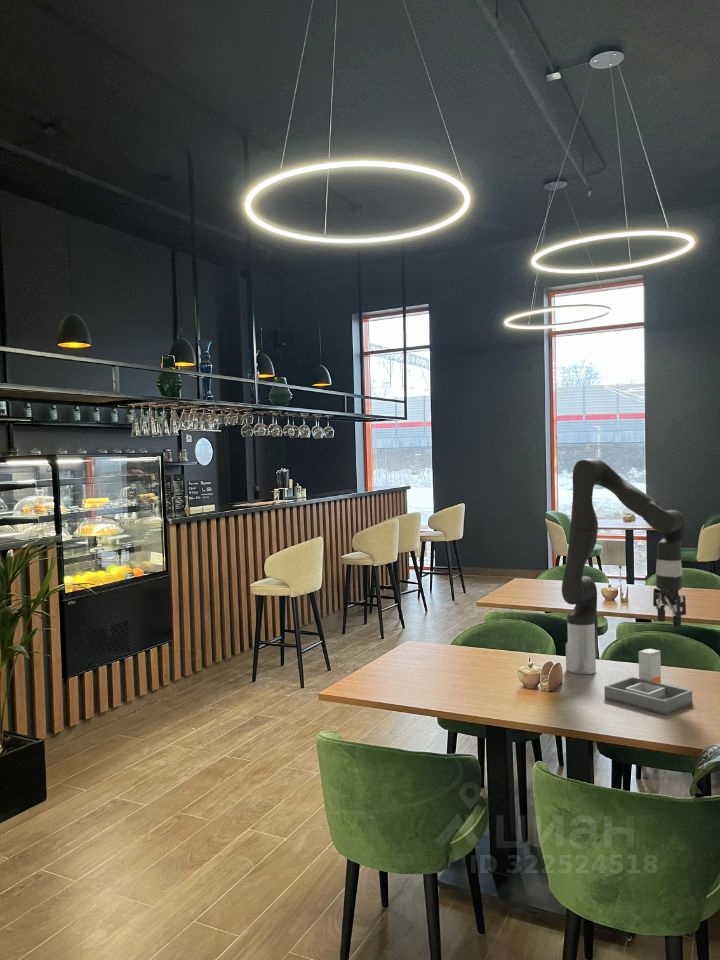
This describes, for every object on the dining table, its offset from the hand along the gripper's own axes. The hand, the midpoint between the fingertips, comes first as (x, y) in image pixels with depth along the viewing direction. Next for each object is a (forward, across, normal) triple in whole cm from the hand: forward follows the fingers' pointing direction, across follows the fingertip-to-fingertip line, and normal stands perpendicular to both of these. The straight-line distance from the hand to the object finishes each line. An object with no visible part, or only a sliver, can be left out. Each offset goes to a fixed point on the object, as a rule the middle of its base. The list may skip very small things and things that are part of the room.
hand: (669, 624), depth 227 cm
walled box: (+21, +8, -12) cm, 25 cm away
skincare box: (+22, -5, -4) cm, 23 cm away
